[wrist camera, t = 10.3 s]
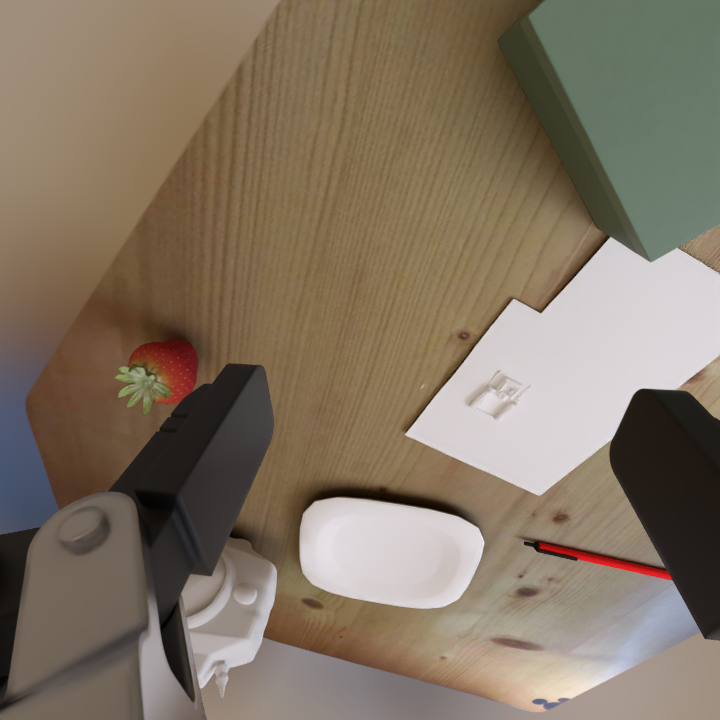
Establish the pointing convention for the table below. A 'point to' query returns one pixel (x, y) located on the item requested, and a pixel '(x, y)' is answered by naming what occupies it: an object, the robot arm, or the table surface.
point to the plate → (388, 551)
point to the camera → (229, 610)
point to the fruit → (160, 373)
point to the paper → (575, 366)
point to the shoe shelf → (629, 110)
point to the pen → (597, 559)
